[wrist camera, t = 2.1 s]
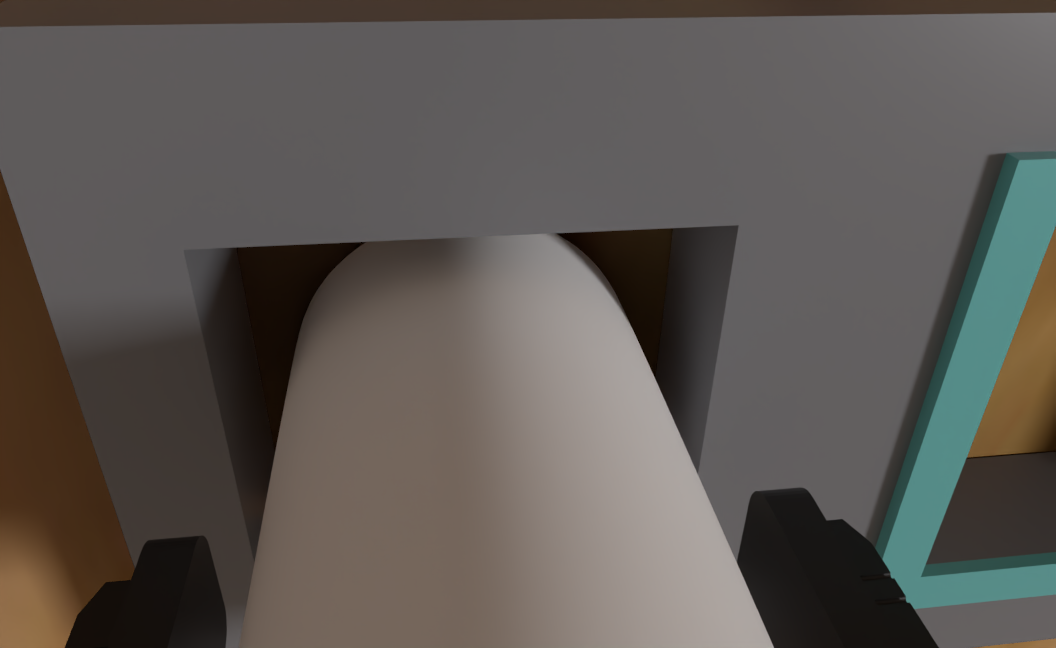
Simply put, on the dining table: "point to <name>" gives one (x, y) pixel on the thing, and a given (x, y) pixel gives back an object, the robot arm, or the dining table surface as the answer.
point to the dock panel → (567, 207)
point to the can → (484, 467)
